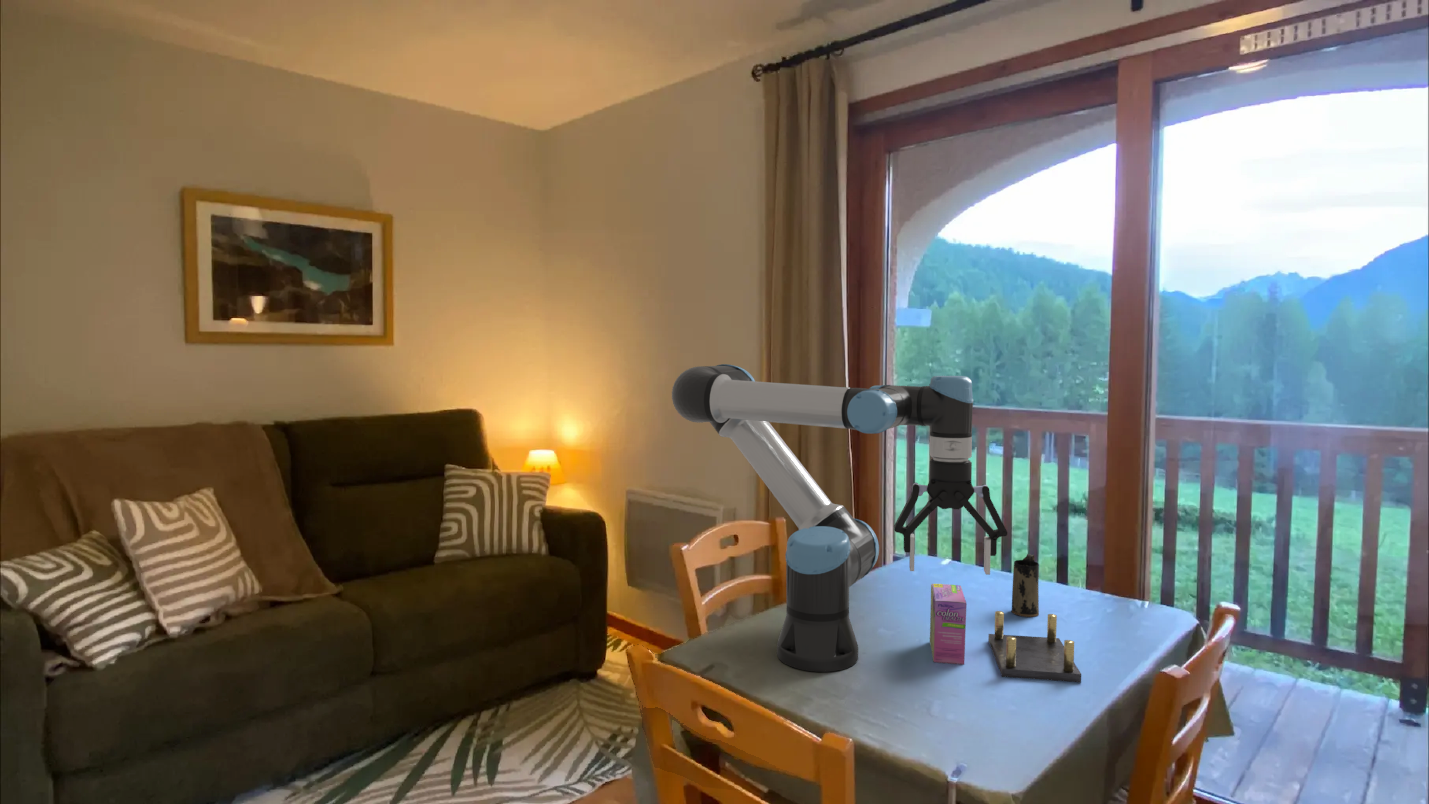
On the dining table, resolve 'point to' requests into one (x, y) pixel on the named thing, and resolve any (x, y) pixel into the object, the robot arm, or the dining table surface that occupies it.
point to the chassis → (1033, 654)
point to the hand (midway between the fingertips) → (949, 571)
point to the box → (947, 623)
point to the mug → (1025, 587)
